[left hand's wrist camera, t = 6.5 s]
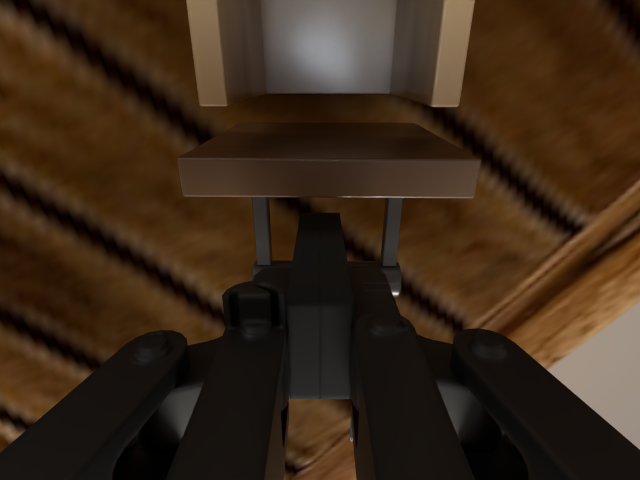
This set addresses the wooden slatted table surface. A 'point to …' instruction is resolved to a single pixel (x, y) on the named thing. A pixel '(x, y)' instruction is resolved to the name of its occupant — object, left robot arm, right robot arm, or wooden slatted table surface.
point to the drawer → (329, 78)
